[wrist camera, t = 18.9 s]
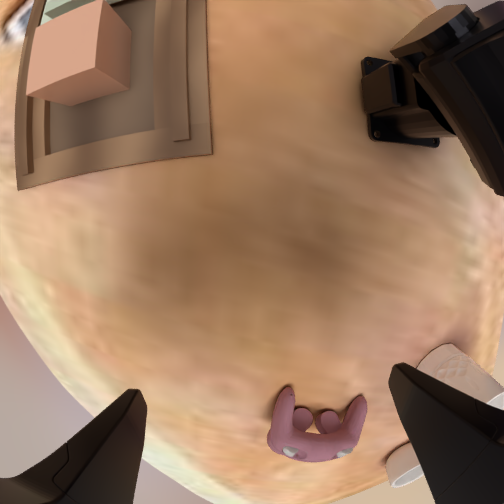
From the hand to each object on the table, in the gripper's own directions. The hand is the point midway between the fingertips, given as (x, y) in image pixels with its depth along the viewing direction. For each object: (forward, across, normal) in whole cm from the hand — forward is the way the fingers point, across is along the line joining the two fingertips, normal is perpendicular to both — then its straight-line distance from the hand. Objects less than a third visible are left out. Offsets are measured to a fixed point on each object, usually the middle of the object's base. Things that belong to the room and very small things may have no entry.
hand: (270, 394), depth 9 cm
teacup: (+12, -22, +34) cm, 42 cm away
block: (+12, +10, -16) cm, 22 cm away
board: (+12, +10, -22) cm, 27 cm away
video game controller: (+12, -6, +16) cm, 21 cm away
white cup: (+12, -20, +14) cm, 27 cm away
